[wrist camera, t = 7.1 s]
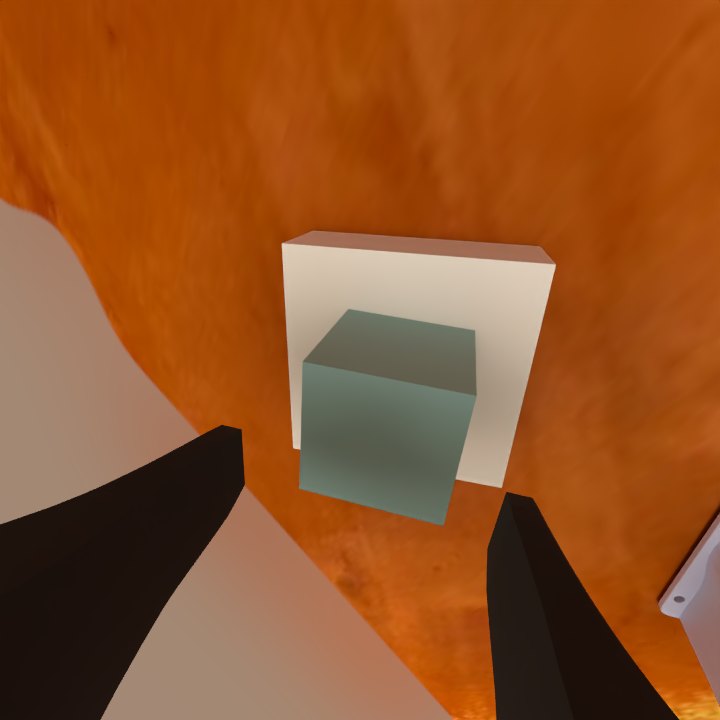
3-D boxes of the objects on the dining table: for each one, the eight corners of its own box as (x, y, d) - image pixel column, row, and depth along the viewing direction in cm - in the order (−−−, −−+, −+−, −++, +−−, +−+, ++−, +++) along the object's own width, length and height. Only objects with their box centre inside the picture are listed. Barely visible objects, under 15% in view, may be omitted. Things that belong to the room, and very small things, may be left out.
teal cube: (450, 436, 17) (443, 526, 13) (340, 412, 18) (299, 488, 14) (475, 330, 15) (477, 395, 11) (348, 308, 16) (302, 361, 12)
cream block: (497, 435, 21) (501, 487, 18) (319, 406, 24) (293, 448, 20) (538, 244, 17) (556, 264, 14) (316, 229, 19) (281, 243, 16)
